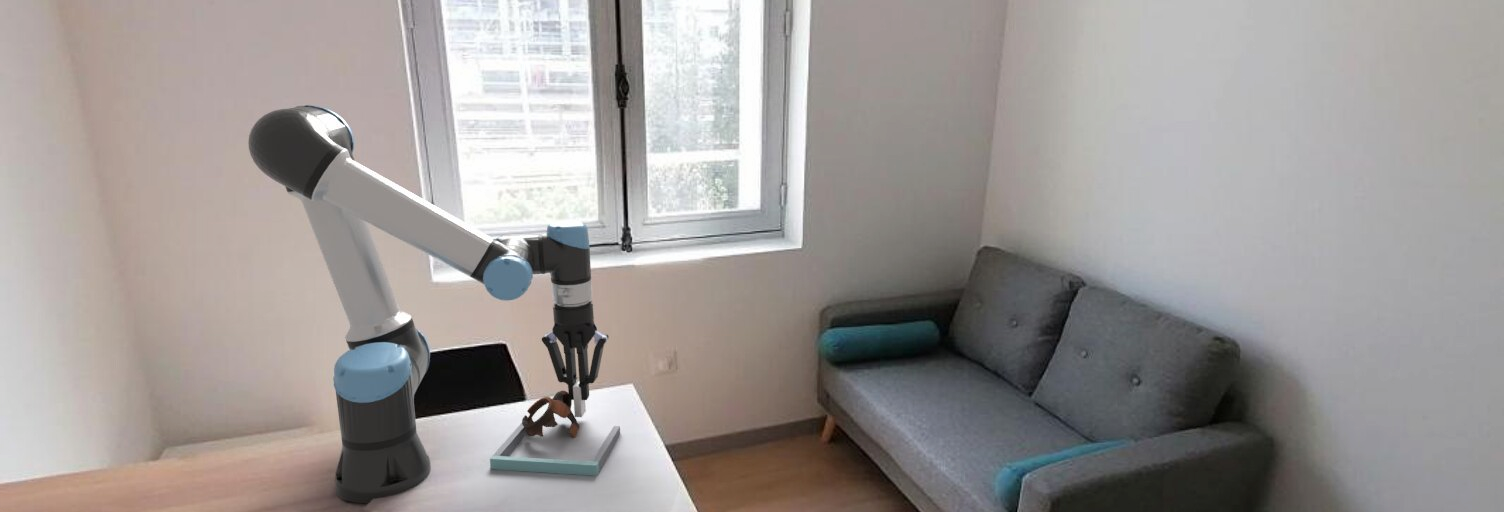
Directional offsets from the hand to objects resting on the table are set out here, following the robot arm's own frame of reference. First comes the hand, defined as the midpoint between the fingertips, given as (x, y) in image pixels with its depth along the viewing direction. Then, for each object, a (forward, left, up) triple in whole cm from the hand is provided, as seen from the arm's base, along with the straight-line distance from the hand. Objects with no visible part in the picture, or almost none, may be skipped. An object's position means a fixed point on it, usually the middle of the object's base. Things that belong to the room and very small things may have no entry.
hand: (580, 414), depth 156 cm
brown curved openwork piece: (-2, -2, -3) cm, 4 cm away
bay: (-1, -11, -2) cm, 11 cm away
